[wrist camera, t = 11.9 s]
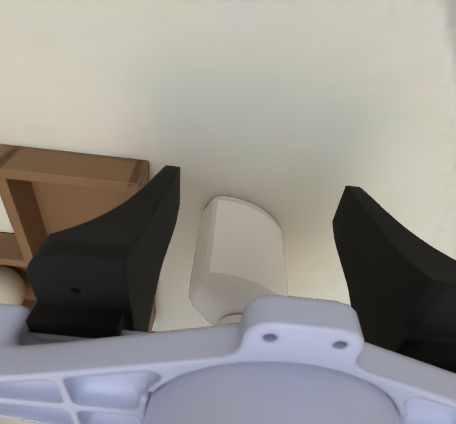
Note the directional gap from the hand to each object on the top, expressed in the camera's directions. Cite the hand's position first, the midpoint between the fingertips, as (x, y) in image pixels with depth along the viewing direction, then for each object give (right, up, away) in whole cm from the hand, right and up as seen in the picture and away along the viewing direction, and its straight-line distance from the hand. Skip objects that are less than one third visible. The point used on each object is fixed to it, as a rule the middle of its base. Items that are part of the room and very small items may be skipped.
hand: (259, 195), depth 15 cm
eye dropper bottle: (0, -1, +9) cm, 10 cm away
